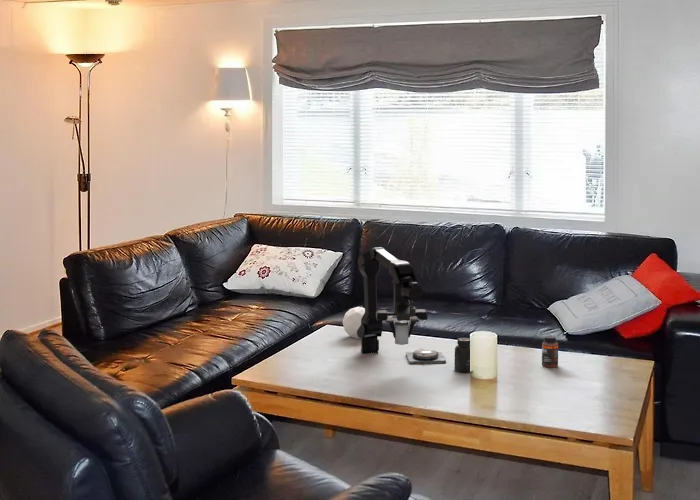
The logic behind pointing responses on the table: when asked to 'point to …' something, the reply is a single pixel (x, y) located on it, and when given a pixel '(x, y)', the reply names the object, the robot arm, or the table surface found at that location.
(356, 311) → the geodesic sphere
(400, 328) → the knob
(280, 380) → the table surface
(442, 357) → the base
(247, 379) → the table surface
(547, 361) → the supplement bottle
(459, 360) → the supplement bottle
